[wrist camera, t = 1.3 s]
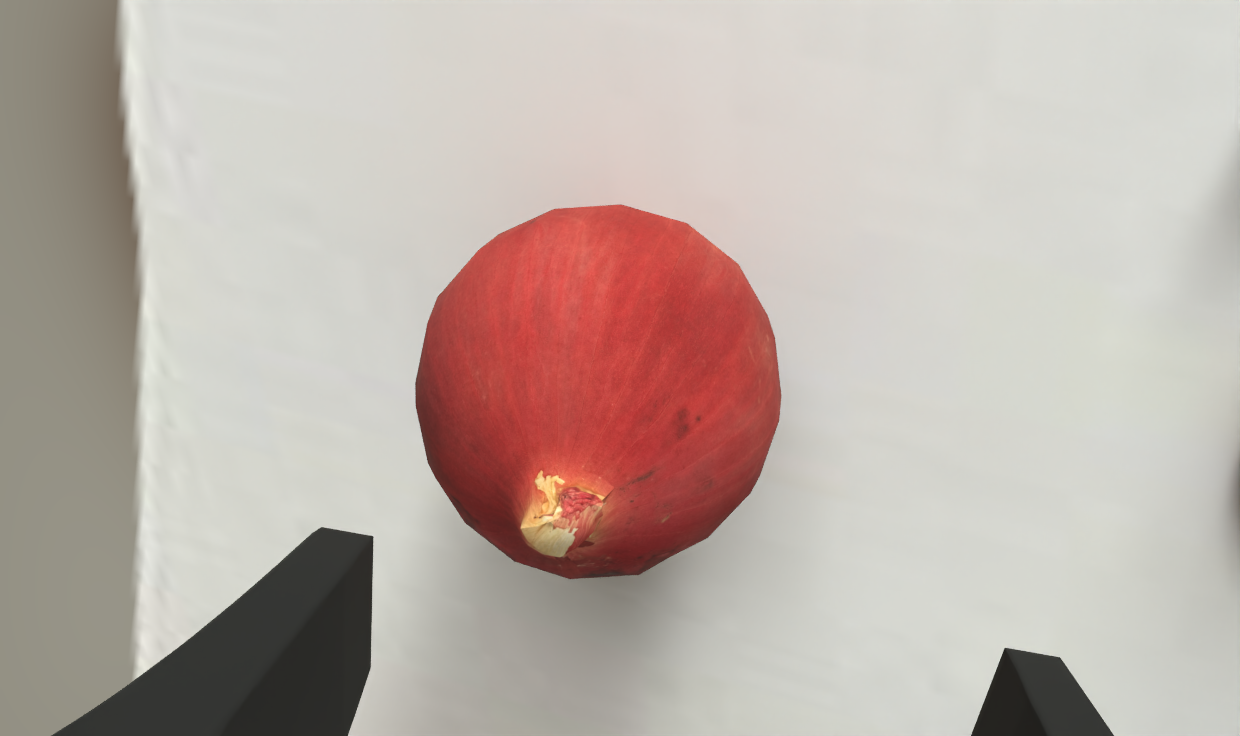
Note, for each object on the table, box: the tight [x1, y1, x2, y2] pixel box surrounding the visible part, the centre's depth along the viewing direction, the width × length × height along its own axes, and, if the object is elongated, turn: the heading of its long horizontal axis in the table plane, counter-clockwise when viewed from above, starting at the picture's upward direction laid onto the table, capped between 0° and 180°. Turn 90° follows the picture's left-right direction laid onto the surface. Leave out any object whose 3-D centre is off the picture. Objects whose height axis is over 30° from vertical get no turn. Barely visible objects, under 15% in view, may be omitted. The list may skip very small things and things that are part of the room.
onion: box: [415, 205, 781, 579], centre depth 19 cm, size 6×6×8 cm
